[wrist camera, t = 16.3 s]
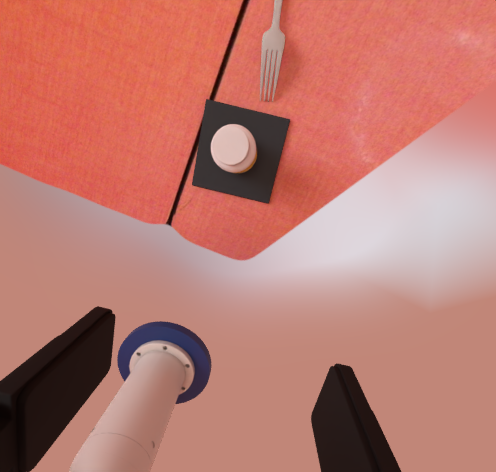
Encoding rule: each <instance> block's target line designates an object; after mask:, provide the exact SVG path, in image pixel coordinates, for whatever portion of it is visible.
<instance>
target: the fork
mask: <svg viewBox="0 0 496 472" xmlns="http://www.w3.org/2000/svg"><path fill="white" fill-rule="evenodd" d="M282 1H283V0H275V3H274V13H273V21H272V26H271V28H270V29H269V30H268V31H266V32H265V33H264V34H263V39H262V55H261V77H260V101H261V96H262V88H263V79H264V71H265V63H266V54H267V64H266V77H265V93H264V101H265V98H266V91H267V85H268V77H269V69H270V62H271V54H272V62H271V72H270V81H269V93H268V102H269V97H270V92H271V86H272V80H273V74H274V67H275V61H276V55H277V61H276V70H275V78H274V87H273V96H272V102H273V99H274V95H275V90H276V85H277V80H278V75H279V70H280V65H281V59H282V54H283V50H284V45H285V35H284V34H283V33H282V32H281V30H280V29H279V23H280V14H281V8H282ZM267 50H268V52H267ZM272 50H273V53H272ZM277 51H278V53H277Z"/></svg>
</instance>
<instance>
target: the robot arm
mask: <svg viewBox="0 0 496 472" xmlns="http://www.w3.org/2000/svg"><path fill="white" fill-rule="evenodd" d="M114 325H115V314H112V310H110V309H106V308H102V307H95V308H94V309H93V310H91V311H90V312H89V313H88V314H86V315H85V316H84V317H83V318H81V319H80V320H79V321H78V322H76V323H75V324H74V325H73V326H71V327H70V328H69V329H68V330H66V331H65V332H64V333H63V334H61V335H60V336H57V337H56V338H54V339H53V340H52V341H51V342H49V343H48V344H47V345H45V346H44V347H43V348H42V349H40V350H39V351H38V352H37V353H35V354H34V355H33V356H32V357H30V358H29V359H28V360H26V362H24V363H23V364H21V365H20V366H19V367H18V368H16V369H15V370H14V371H13V372H11V373H10V374H9V375H8V376H6V377H5V378H4V379H3V380H1V381H0V472H30V471H31V470H32V469H33V468H34V467H35V466H36V465H37V463H38V462H39V461H40V460H41V458H42V457H43V456H44V454H45V453H46V452H47V451H48V449H49V448H50V447H51V445H52V444H53V443H54V441H55V440H56V439H57V438H58V437H59V435H60V434H61V433H62V431H63V430H64V429H65V428H66V426H67V425H68V424H69V422H70V421H71V420H72V418H73V417H74V416H75V415H76V413H77V412H78V411H79V409H80V408H81V407H82V405H83V404H84V403H85V402H86V400H87V399H88V398H89V397H90V395H91V394H92V393H93V391H94V390H95V389H96V388H97V386H98V385H99V383H100V382H101V381H102V380H103V378H104V377H105V376H106V374H107V373H108V371H109V369H110V366H111V358H112V346H113V337H114ZM129 368H130V375H129V376H128V378H127V379H126V381H125V382H124V384H123V385H122V387H121V388H120V390H119V391H118V393H117V394H116V396H115V397H114V399H113V400H112V402H111V403H110V405H109V406H108V408H107V409H106V411H105V413H104V414H103V415H102V417H101V418H100V420H99V421H98V423H97V425H96V426H95V427H94V429H93V430H92V432H91V434H90V435H89V437H88V438H87V440H86V441H85V443H84V444H83V446H82V447H81V449H80V450H79V452H78V453H77V455H76V457H75V459H74V460H73V463H72V465H71V467H70V470H69V472H150V470H151V467H152V464H153V462H154V459H155V456H156V454H157V451H158V448H159V446H160V443H161V441H162V438H163V435H164V432H165V430H166V427H167V425H168V422H169V419H170V417H171V414H172V411H173V409H174V406H175V403H176V401H177V398H178V395H180V394H182V393H183V392H185V391H186V390H187V389H188V388H189V387H190V385H191V384H192V381H193V378H194V374H195V367H194V363H193V361H192V359H191V357H190V356H189V354H188V353H187V352H186V351H185V350H184V349H182V348H181V347H179V346H178V345H176V344H174V343H171V342H168V341H161V340H156V341H150V342H147V343H145V344H142V345H141V346H140V347H138V349H137V350H136V351H135V352H134V354H133V355H132V357H131V360H130V365H129ZM311 421H312V428H313V432H314V437H315V442H316V447H317V453H318V458H319V463H320V468H321V472H401V470H400V468H399V466H398V463H397V461H396V459H395V457H394V455H393V453H392V451H391V449H390V447H389V444H388V442H387V440H386V438H385V436H384V434H383V432H382V429H381V427H380V425H379V423H378V421H377V419H376V417H375V415H374V413H373V411H372V410H371V408H370V406H369V404H368V402H367V400H366V397H365V395H364V393H363V391H362V389H361V387H360V384H359V382H358V380H357V378H356V377H355V374H354V372H353V369H352V368H351V367H350V366H346V365H341V364H335V366H331V367H330V369H329V372H328V374H327V377H326V380H325V382H324V384H323V387H322V389H321V392H320V394H319V397H318V400H317V402H316V405H315V407H314V410H313V412H312V416H311Z"/></svg>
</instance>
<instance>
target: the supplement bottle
mask: <svg viewBox="0 0 496 472" xmlns="http://www.w3.org/2000/svg"><path fill="white" fill-rule="evenodd" d="M211 154H212V157H213V159H214V161H215V163H216V164H217V165H218V166H219V167H220V168H221V169H223V170H225V171H227V172H231V173H244V172H246V171H248V170H249V169H251V168H252V166H253V165H254V164H255V162H256V159H257V148H256V142H255V140H254V137H253V135H252V134H251V133H250V131H249V130H247V129H246V128H245V127H243V126H241V125H238V124H229V125H226V126H223V127H222V128H220V129H219V130H218V131H217V132H216V133H215V135H214V137H213V139H212V142H211Z"/></svg>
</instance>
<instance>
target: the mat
mask: <svg viewBox="0 0 496 472" xmlns="http://www.w3.org/2000/svg"><path fill="white" fill-rule="evenodd" d="M289 122H290V119H286V118H282V117H277V116H273V115H269V114H265V113H261V112H257V111H253V110H249V109H244V108H240V107H236V106H232V105H228V104H224V103H220V102H216V101H211V100H207V99H206V104H205V110H204V116H203V122H202V128H201V134H200V140H199V146H198V152H197V158H196V164H195V170H194V176H193V182H192V185H194V186H198V187H202V188H206V189H210V190H214V191H219V192H223V193H227V194H231V195H235V196H239V197H243V198H248V199H252V200H256V201H260V202H264V203H269V200H270V196H271V193H272V189H273V185H274V181H275V177H276V173H277V169H278V165H279V161H280V157H281V153H282V150H283V146H284V142H285V138H286V134H287V130H288V126H289ZM229 124H238V125H241V126H243V127H245V128H246V129H247V130H249V131H250V133H251V134H252V135H253V137H254V140H255V142H256V148H257V159H256V162H255V164H254V165H253V166H252V168H251V169H249V170H248V171H246V172H244V173H231V172H227V171H225V170H223V169H221V168H220V167H219V166H218V165H217V164H216V163H215V161H214V159H213V157H212V154H211V142H212V139H213V137H214V135H215V133H216V132H217V131H218V130H219V129H220V128H222V127H223V126H226V125H229Z"/></svg>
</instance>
